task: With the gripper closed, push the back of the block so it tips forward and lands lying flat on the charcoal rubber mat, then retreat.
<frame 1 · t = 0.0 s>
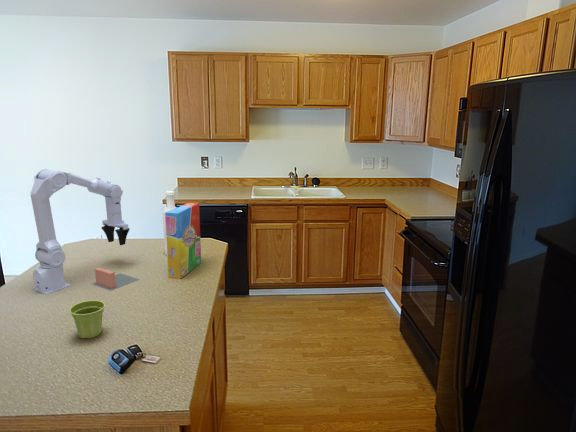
hand: (116, 243, 172), 10 cm above the counter, fingers open, 7 cm apart
mat: (115, 282, 157), on the counter
block: (106, 285, 153), resting on mat
game box: (185, 270, 171), on the counter
plant pot: (90, 334, 120), on the counter
bottle: (173, 253, 191), on the counter
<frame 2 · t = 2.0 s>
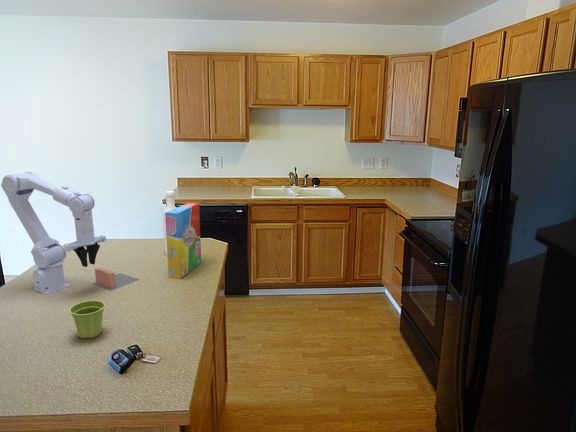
hand: (88, 265, 146), 10 cm above the counter, fingers closed
nothing on the counter moved.
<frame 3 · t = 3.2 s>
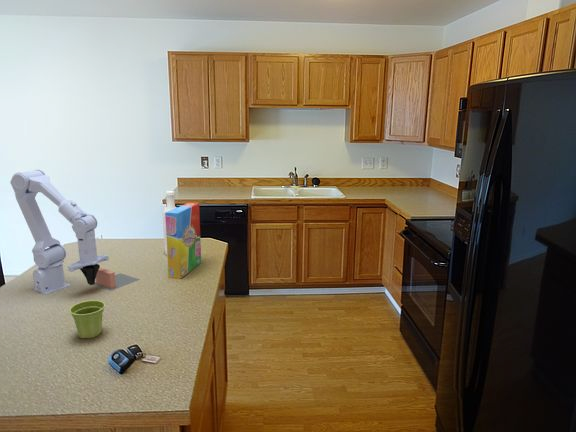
hand: (91, 284, 148), 3 cm above the counter, fingers closed
nothing on the counter moved.
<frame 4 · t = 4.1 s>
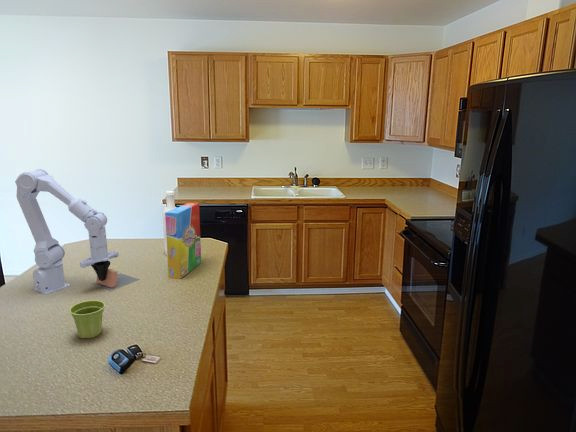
hand: (102, 280, 151), 3 cm above the counter, fingers closed
block: (106, 284, 153), point 1 cm above the counter, tilted 13°, touching gripper, mat
everything else where it was.
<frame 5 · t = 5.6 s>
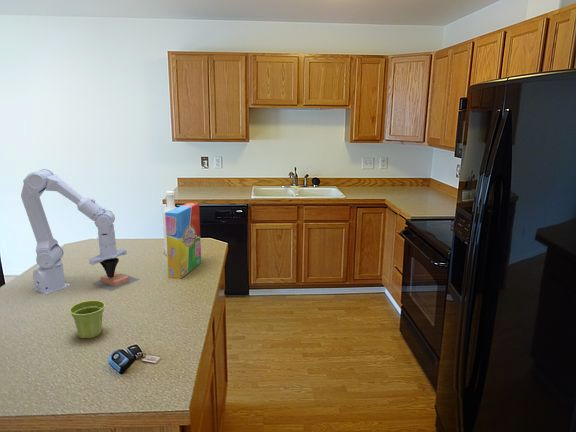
hand: (110, 277, 154), 3 cm above the counter, fingers closed
block: (108, 281, 154), point 1 cm above the counter, tilted 90°, touching mat
everything else where it was.
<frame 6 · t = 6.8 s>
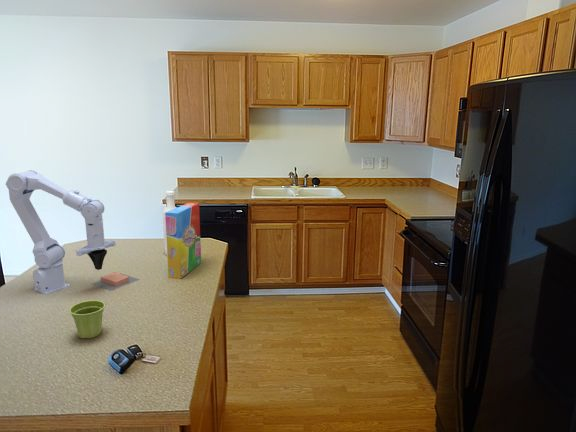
hand: (98, 269, 150), 8 cm above the counter, fingers closed
nothing on the counter moved.
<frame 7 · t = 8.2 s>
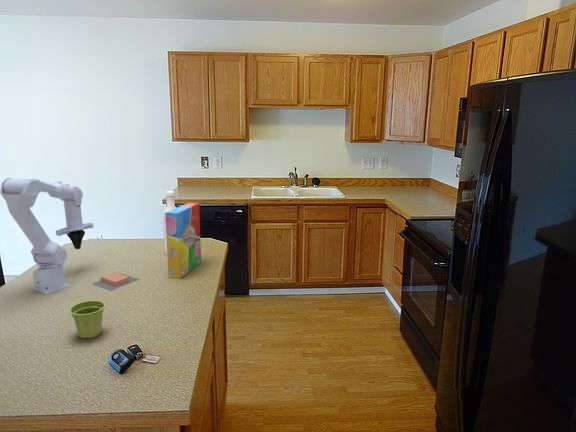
hand: (77, 248, 164), 10 cm above the counter, fingers closed
nothing on the counter moved.
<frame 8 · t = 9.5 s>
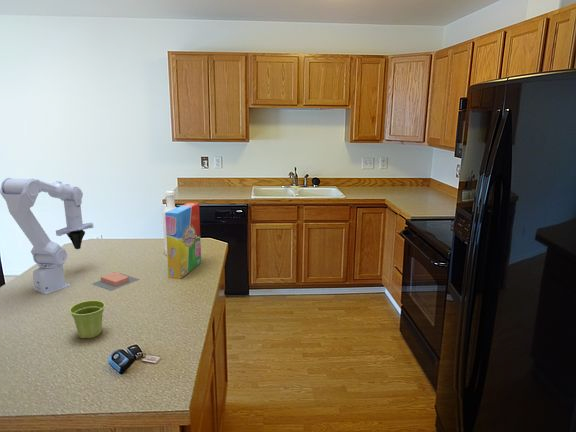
hand: (77, 248, 164), 10 cm above the counter, fingers closed
nothing on the counter moved.
at the end: block tilted 90°; block inside the target area (4.8 cm from its centre), point 1.3 cm above the counter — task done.
